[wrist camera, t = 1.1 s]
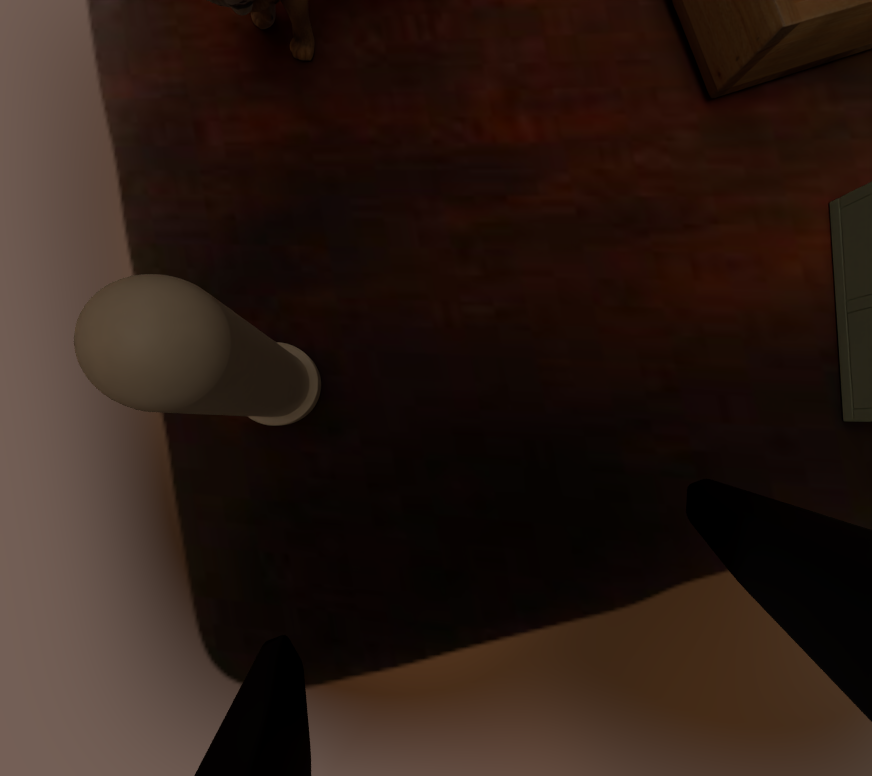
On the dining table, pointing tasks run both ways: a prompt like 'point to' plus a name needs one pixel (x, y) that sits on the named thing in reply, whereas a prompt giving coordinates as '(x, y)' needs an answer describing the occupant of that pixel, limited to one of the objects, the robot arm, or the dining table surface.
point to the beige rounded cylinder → (189, 354)
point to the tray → (770, 37)
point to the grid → (854, 299)
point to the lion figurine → (263, 16)
